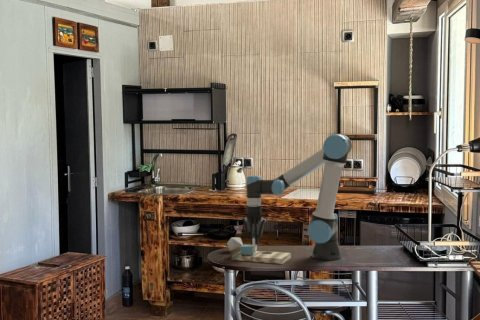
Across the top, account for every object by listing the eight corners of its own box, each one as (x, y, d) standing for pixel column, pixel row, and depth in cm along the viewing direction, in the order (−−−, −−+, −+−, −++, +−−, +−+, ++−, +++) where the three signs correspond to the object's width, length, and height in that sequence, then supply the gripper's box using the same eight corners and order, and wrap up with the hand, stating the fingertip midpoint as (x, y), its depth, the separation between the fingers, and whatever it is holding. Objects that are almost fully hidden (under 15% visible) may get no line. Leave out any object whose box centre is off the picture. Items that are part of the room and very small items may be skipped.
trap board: (290, 257, 280) (290, 248, 280) (282, 263, 267) (282, 254, 267) (240, 253, 291) (240, 245, 291) (230, 259, 278) (230, 250, 278)
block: (255, 252, 283) (255, 245, 283) (251, 255, 278) (251, 247, 278) (244, 251, 286) (244, 244, 286) (240, 254, 280) (240, 246, 280)
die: (245, 251, 299) (237, 236, 303) (245, 247, 292) (238, 231, 295) (232, 257, 298) (224, 242, 301) (232, 253, 290) (224, 237, 294)
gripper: (268, 205, 280) (268, 250, 281) (245, 204, 285) (245, 248, 286) (263, 206, 273) (263, 253, 274) (239, 206, 278) (240, 251, 279)
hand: (254, 250), depth 280 cm, fingers closed
